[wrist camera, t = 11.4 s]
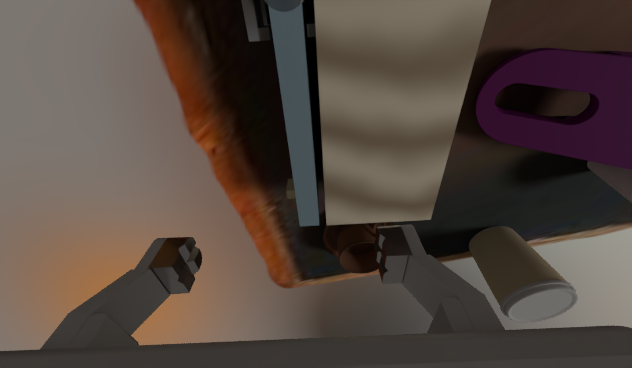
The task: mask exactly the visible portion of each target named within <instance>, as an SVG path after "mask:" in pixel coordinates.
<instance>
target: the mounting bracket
mask: <svg viewBox="0 0 632 368" xmlns="http://www.w3.org/2000/svg"><path fill="white" fill-rule="evenodd" d="M514 83H524V84H531V85H538V86H545V87H552V88H559V89H566V90H573V91H580V92H587V93H589V94H590V103H589V105H588V107H587V108H586V109H585V110H584V111H583V112H582V113H580V114H579V115H577V116H568V117H566V118H565V119H559V118H553V117H547V116H541V115H536V114H530V113H524V112H518V111H513V110H507V109H502V108H499V107H497V106H496V105H495V98H496V96H497V94H498V93H499V92H500V91H501V90H502V89H503V88H504V87H506V86H508V85H511V84H514ZM475 111H476V116H477V120H478V123H479V125H480V126H481V128H482V129H483V131H484V132H485V133H486V134H488V135H489V136H490V137H492V138H493V139H495V140H497V141H500V142H503V143H506V144H511V145H516V146H521V147H525V148H530V149H535V150H539V151H544V152H549V153H554V154H558V155H563V156H568V157H573V158H577V159H582V160H587V161H592V162H596V163H601V164H606V165H611V166H615V167H620V168H625V169H629V170H632V52H620V51H610V52H609V53H608V54H605V53H596V52H586V51H576V50H566V49H556V48H538V49H532V50H527V51H524V52H521V53H518V54H516V55H514V56H512V57H510V58H508V59H506V60H505V61H503V62H502V63H500V64H499V65H497V66H496V67H495V68H494V69H493V70H492V71H491V72H490V73H489V74H488V75H487V77H486V78H485V79H484V81H483V82H482V84H481V86H480V88H479V90H478V92H477V96H476V100H475Z"/></svg>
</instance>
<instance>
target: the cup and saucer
mask: <svg viewBox="0 0 632 368" xmlns="http://www.w3.org/2000/svg"><path fill="white" fill-rule="evenodd" d="M381 226H395V225H394V223H393V222H379V223H361V224H342V225H326V227H325V229H324V232H323V244H324V246H325V248H326V249H327V251H328V252H330V253H331V254H332V255H334V256H336V257H338V258H339V263H340V265H341V266H342V267H343V268H344V269H345V270H347V271H349V272H352V273H369V272H373V271H375V270H377V269H379V263H378V262H377V261H376V256H375V249H374V242H375V239H376V238H377V237H376V233H375V232H376V228H377V227H381Z"/></svg>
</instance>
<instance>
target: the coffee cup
mask: <svg viewBox="0 0 632 368" xmlns="http://www.w3.org/2000/svg"><path fill="white" fill-rule="evenodd" d="M469 250H470V252H471V254H472V256H473V258H474V259H475V261H476V263H477V265H478V267H479V269H480V271H481V272H482V274H483V276H484V278H485V280H486V282H487V284H488V285H489V287H490V289H491V291H492V293H493V295H494V296H495V298H496V299H497V301H498V303H499V305H500V308H501V311H502V312H503V313H504V315H506V316H507V317H509V318H510V319H511V320H513V321H516V322H524V323H527V322H537V321H542V320H546V319H550V318H553V317H556V316H558V315H560V314H562V313H564V312H566V311H567V310H569V309H570V308H571V307H573V306H574V304H575V303H576V302H577V298H578V297H577V294H576V290H575V288H574V287H573V286H572V285H571V284H570V283H568V282H567V281H566V280H565V279H564V278H563V277H562V276H560V274H559V273H558V272H557V271H555V269H554V268H552V267H551V266H550V265H549V264H548V263H547V262H546V261H545V260H544V259H543V258H542V257H541V256H540V255H539V254H538V253H537V252H536V251H535V250H534V249H533V248H532V247H531V246H530V245H529V244H527V243H526V242H525V241H524V240H523V239H522V238H521V237H520V236H519V235H518V234H517V233H516V232H515V231H514V230H512V229H511V228H509V227H506V226H494V227H490V228H487V229H485V230H483V231H481V232H479V233H477V234H476V235H475V236H474V237H473V238H472V239H471V241H470V243H469Z"/></svg>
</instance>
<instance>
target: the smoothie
mask: <svg viewBox="0 0 632 368" xmlns="http://www.w3.org/2000/svg"><path fill="white" fill-rule="evenodd" d="M587 167H588V168H589V169H590V170H591V171H593V172H594V173H595V174H596V175H598V176H599V177H600V178H601V179H603V180H604V181H605V182H606V183H608V184H609V185H610V186H611V187H613V188H614V189H615V190H616V191H618V192H619V193H620V194H621V195H623V196H624V197H625V198H627V199H628V200H629V201H630V202H631V203H632V170H629V169H625V168H620V167H615V166H611V165H606V164H601V163H596V162H592V161H588V163H587Z"/></svg>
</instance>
